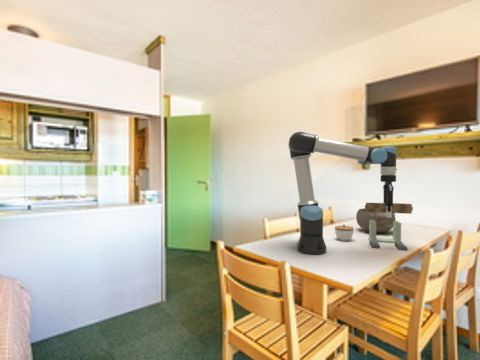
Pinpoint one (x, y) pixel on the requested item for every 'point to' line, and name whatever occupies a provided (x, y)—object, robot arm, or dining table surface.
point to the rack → (373, 238)
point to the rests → (398, 245)
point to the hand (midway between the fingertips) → (387, 216)
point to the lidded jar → (344, 232)
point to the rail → (395, 208)
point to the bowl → (381, 221)
